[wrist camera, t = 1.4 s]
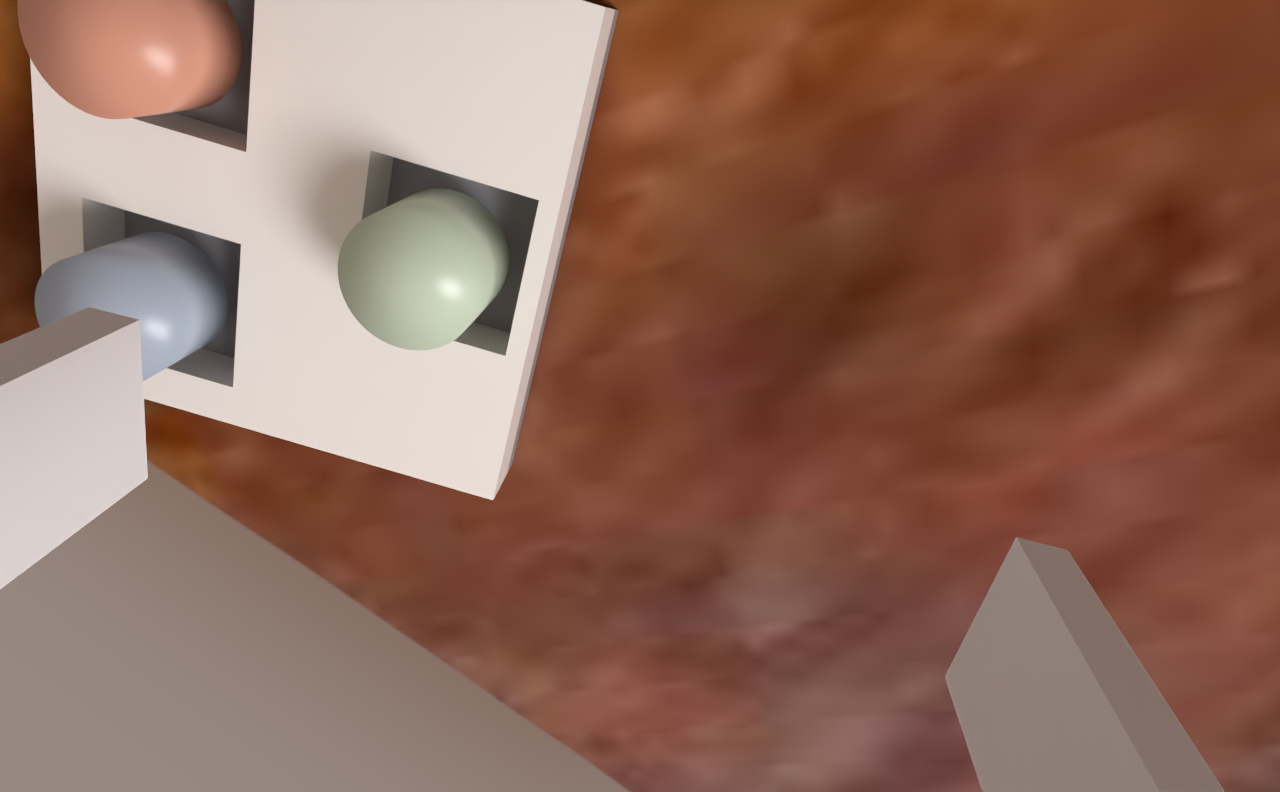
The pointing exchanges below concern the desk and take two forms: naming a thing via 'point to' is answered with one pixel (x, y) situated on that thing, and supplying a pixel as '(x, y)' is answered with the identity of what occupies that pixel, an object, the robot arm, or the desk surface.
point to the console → (350, 212)
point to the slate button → (142, 293)
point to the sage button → (423, 268)
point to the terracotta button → (133, 53)
